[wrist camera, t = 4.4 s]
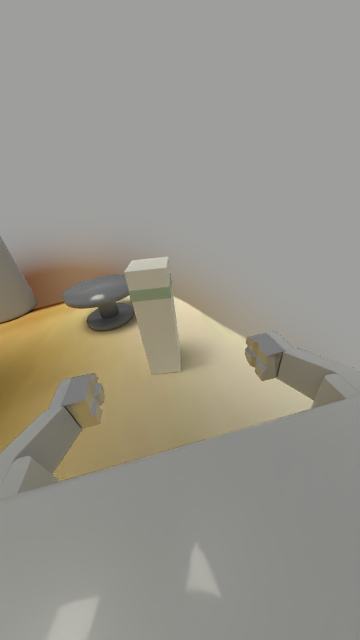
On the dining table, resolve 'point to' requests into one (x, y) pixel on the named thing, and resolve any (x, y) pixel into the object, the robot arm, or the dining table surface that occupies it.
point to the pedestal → (101, 301)
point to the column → (155, 312)
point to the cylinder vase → (13, 288)
